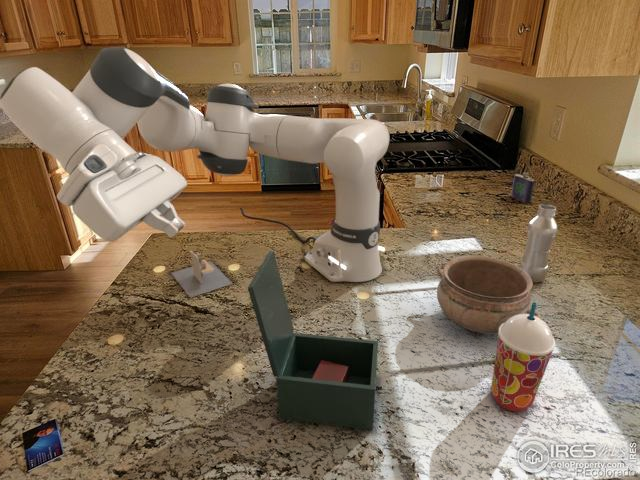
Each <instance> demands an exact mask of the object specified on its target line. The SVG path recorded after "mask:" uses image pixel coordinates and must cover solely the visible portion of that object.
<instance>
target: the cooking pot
mask: <svg viewBox="0 0 640 480" xmlns="http://www.w3.org/2000/svg"><path fill="white" fill-rule="evenodd" d="M442 271H443V272H442ZM436 272H437V274H438V277H439V278H440V279H439V282H438V285H437V288H436V297H437V302H438V305H439V307H440V309H441V311H442V312H443V314H444V315H445V316H446V317H447V318H448V319H449V320H450V321H451V322H453V323H454V324H456V325H458V326H459V327H461V328H463V329H466V330H468V331H471V332H475V333H478V334H486V335H490V334H491V335H496V334H497V335H498V332H499V327H500V326H501V324H503V323H505V322H506V321H507V320H508V319H509V318H511V317H513V316H515V315H517V314H530V310H531V306H532V303H533V302H532V295H531V290H532V289H533V283H534V282H532V279H531V277H530V276H529V275H528V273H527V272H525V271H524V270H523V269H521V268H520V267H519V266H518V265H516V264H514V263H512V262H509V261H507V260H504V259H501V258H498V257H494V256H493V257H492V256H488V255H462V256H458V257H454V258H452V259H449V260H448V261H446V263H445V264H444V265H443V264H440V265H438V266H437V267H436ZM534 316H537V317H539V318H540V319H542V316H541V314H540V313H538V312H536V311H535V313H534Z"/></svg>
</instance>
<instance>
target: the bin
mask: <svg viewBox="0 0 640 480" xmlns="http://www.w3.org/2000/svg"><path fill="white" fill-rule="evenodd" d="M378 352H379V341H378V340H370V339H360V338H350V337H340V336H339V337H338V336H328V335H318V334H309V333H297V332H293V335H292V338H291V341H290V343H289V346H288V349H287V352H286V355H285V358H284V361H283V363H282V366H281V369H280V372H279V375H278V376H275V381H276V383H275V384H276V395H277V396H276V397H277V409H278V411H277V412H278V419H281V420H289V421H297V422H305V423H313V424H319V425H328V426H336V427H343V428H350V429H351V428H352V429H359V430H368V431H373V430H374V418H375V417H374V416H375V400H376V383H377V369H378ZM321 360H324V361H328V362H332V363H336V364H340V365H344V366H348V383H344V382H335V381H326V380H317V379H312V377H313V375H314V374H315V372H316V370H317V368H318V366H319V364H320V362H321Z"/></svg>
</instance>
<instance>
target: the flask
mask: <svg viewBox="0 0 640 480" xmlns="http://www.w3.org/2000/svg"><path fill="white" fill-rule="evenodd" d="M529 174H530V173H529V172H523V173H522V175H521V174H518V173H517V174H514V176H513V181H512V186H511V192H510V196H509V197H510V198H512V199H514V200H516V201H520V202H521V203H524V204H526V205H530V204H531V200H532V197H533V191H534V186H535V179H533V177H530V176H529Z"/></svg>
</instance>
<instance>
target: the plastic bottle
mask: <svg viewBox="0 0 640 480" xmlns="http://www.w3.org/2000/svg"><path fill="white" fill-rule="evenodd" d="M556 212H557V207H556V206H554V205H551V204H540V205H538V210H537V212H536V214H537V215H536V216H535V217H533V218H532V219H531V220H530V221H529V222H528V224H527V229H526V231H527V234H526V246H525V250H524V253H523V257H522V260H521V261H520V264H519V266H518V267H520V268H521V269H523V270H524V271H525V272H527V273H528V275H529V276H530V277H531V279H532V283H541V282H543V281H544V280H546V278H547V276H548V270H549V266H548V265H549V258H550V257H549V256H550V252H551V249H552V246H553V243H554V241H555V238H556V235H557V233H558V224H557V222H556V219H555V218H554V217H556Z"/></svg>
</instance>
